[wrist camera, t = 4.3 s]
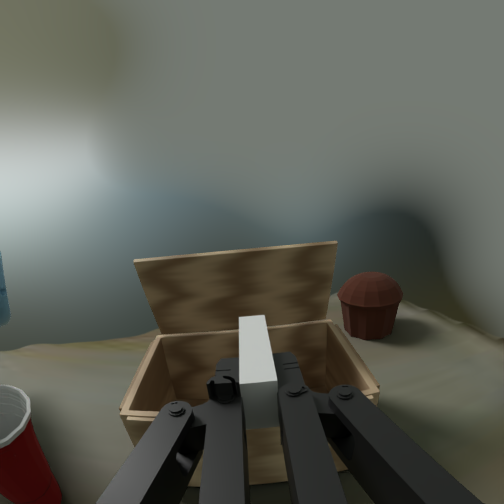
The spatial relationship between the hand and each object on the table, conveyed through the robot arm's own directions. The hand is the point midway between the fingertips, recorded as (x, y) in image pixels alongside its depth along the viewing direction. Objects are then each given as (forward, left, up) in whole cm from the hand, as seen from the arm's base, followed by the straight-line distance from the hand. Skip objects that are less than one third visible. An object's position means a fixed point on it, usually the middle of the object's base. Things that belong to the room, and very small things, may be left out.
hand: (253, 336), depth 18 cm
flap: (-10, +11, -7) cm, 16 cm away
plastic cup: (-15, -18, -17) cm, 29 cm away
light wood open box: (-5, +5, -17) cm, 18 cm away
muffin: (-1, +35, -17) cm, 39 cm away
